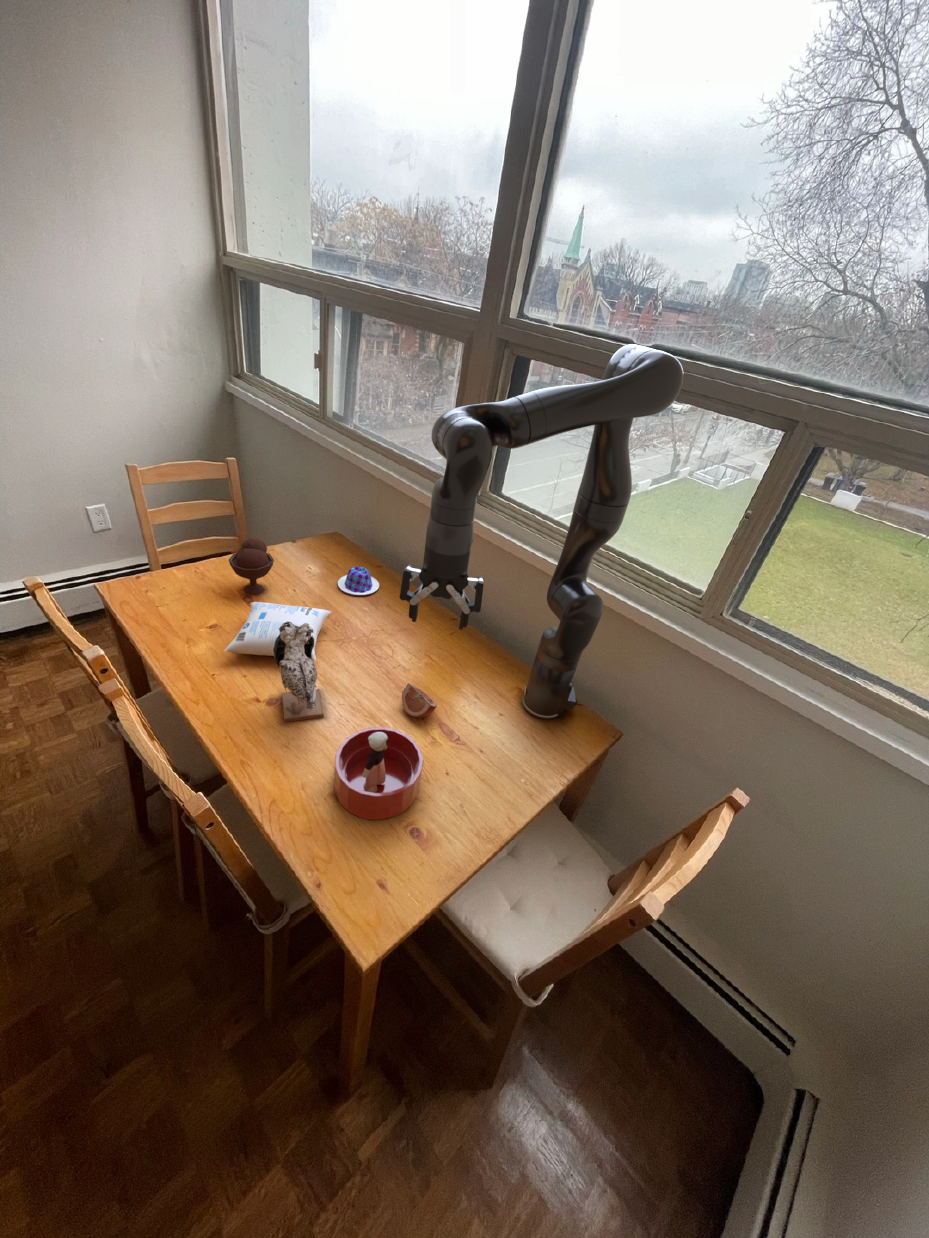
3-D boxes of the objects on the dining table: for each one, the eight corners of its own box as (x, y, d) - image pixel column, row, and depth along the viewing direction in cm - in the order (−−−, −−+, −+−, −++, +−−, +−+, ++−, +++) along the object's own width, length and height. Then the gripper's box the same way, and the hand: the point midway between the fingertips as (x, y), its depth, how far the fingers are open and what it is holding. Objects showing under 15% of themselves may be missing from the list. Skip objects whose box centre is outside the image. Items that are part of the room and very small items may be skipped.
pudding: (387, 586, 152) (388, 571, 149) (360, 601, 143) (361, 586, 140) (356, 571, 157) (357, 556, 154) (328, 585, 148) (329, 569, 145)
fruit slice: (394, 703, 112) (396, 687, 109) (419, 693, 116) (421, 676, 113) (416, 727, 107) (419, 710, 105) (441, 716, 111) (444, 699, 109)
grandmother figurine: (378, 801, 91) (383, 753, 84) (358, 795, 91) (361, 747, 84) (390, 767, 97) (396, 720, 90) (371, 763, 97) (375, 715, 90)
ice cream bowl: (232, 580, 142) (227, 531, 134) (275, 579, 146) (272, 532, 137) (230, 601, 134) (224, 550, 126) (275, 599, 138) (272, 550, 129)
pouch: (221, 635, 110) (315, 642, 112) (249, 592, 126) (331, 598, 128) (225, 664, 114) (316, 670, 116) (252, 618, 130) (331, 625, 132)
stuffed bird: (304, 671, 116) (303, 608, 107) (346, 726, 104) (349, 662, 95) (260, 685, 110) (255, 620, 101) (300, 746, 99) (298, 679, 89)
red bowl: (424, 759, 101) (428, 735, 97) (410, 828, 88) (414, 803, 84) (348, 745, 101) (349, 720, 97) (322, 812, 88) (322, 786, 84)
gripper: (401, 545, 80) (394, 629, 89) (490, 560, 80) (475, 642, 89) (409, 526, 86) (402, 606, 95) (492, 540, 86) (478, 618, 95)
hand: (437, 623), depth 92 cm, fingers open, 8 cm apart
